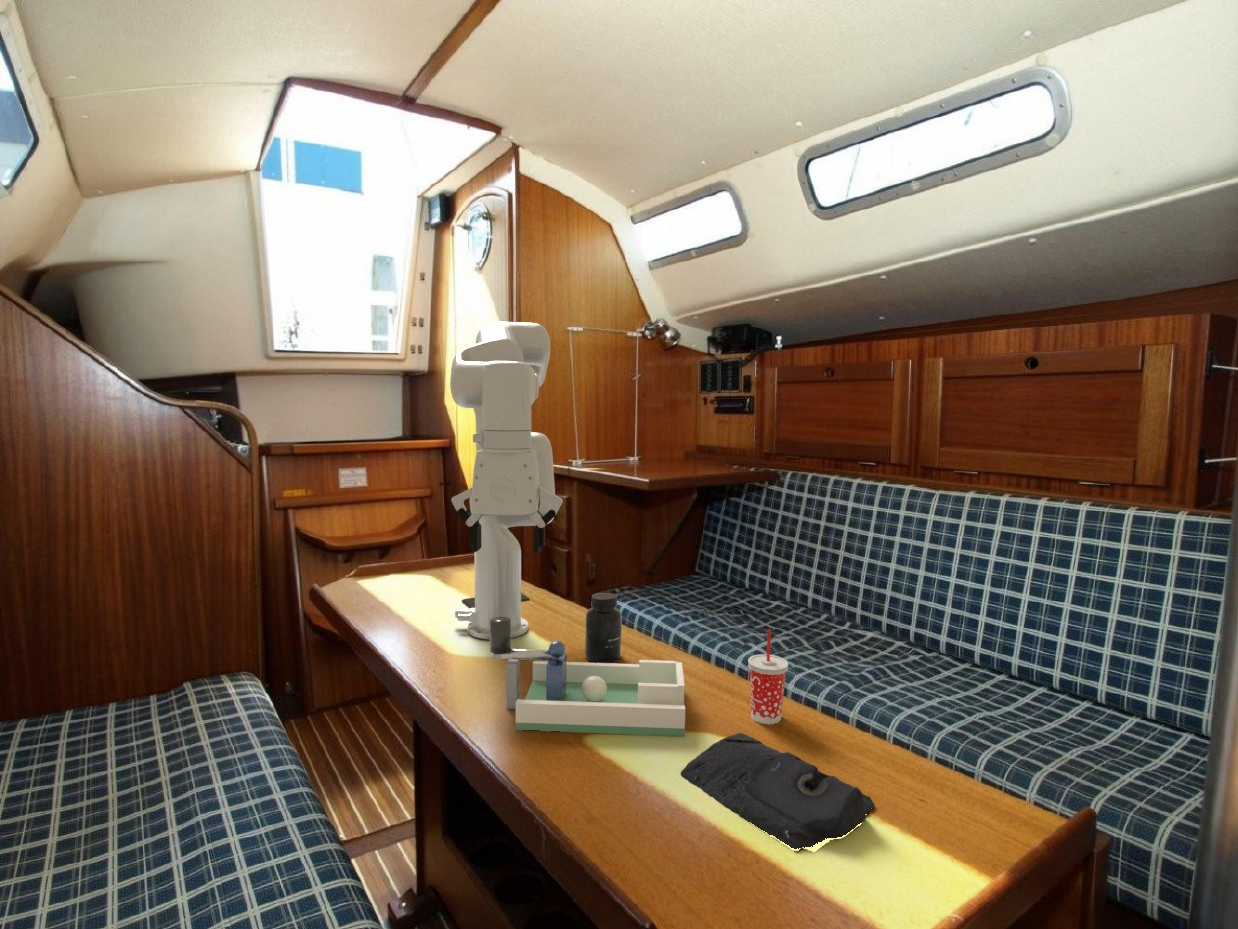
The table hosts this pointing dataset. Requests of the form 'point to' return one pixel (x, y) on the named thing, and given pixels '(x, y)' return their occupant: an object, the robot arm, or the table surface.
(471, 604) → the smartphone
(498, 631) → the table football player
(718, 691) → the table surface
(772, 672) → the beverage cup
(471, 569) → the table surface
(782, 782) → the dark slate chunk
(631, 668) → the pitch
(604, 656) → the supplement bottle
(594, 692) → the ball
